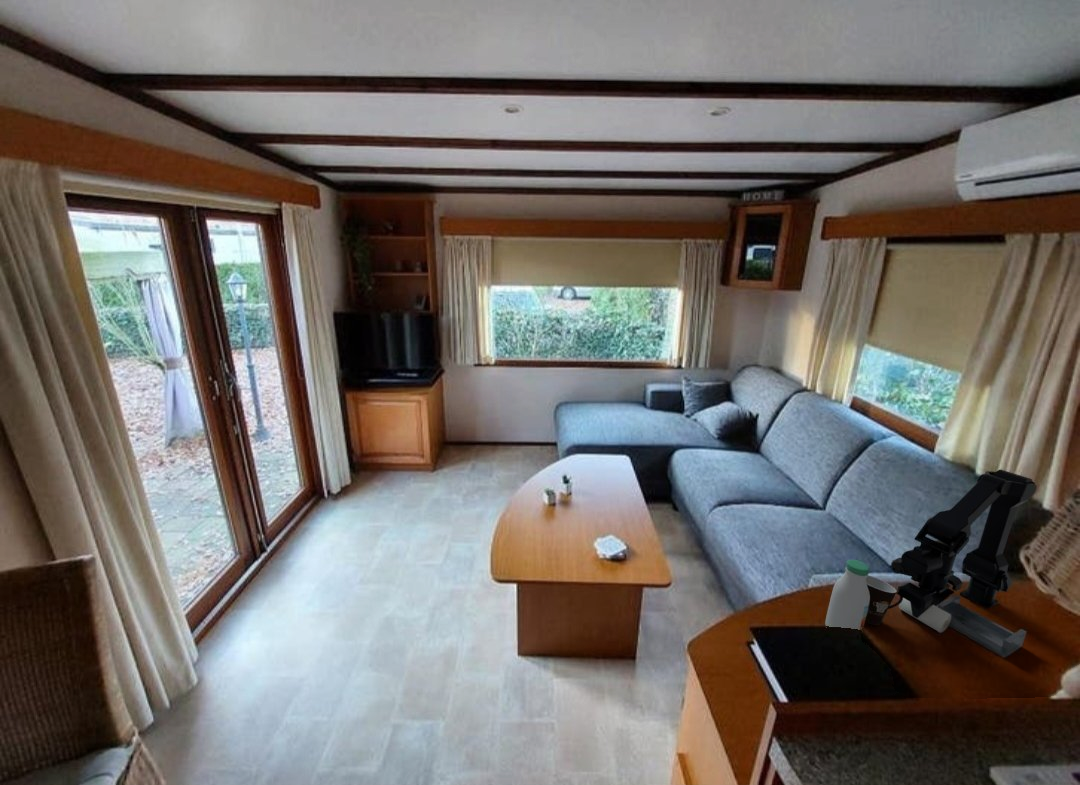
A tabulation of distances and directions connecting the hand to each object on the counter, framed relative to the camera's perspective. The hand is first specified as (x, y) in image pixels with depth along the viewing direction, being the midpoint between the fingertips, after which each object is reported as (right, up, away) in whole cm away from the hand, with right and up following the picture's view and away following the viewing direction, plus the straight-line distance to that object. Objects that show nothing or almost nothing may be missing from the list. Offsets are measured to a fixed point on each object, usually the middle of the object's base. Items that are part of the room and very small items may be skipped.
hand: (921, 613), depth 116 cm
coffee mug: (-14, -1, -1) cm, 15 cm away
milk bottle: (-25, -2, -5) cm, 26 cm away
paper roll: (0, -2, 0) cm, 2 cm away
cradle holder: (+11, -3, -4) cm, 12 cm away
